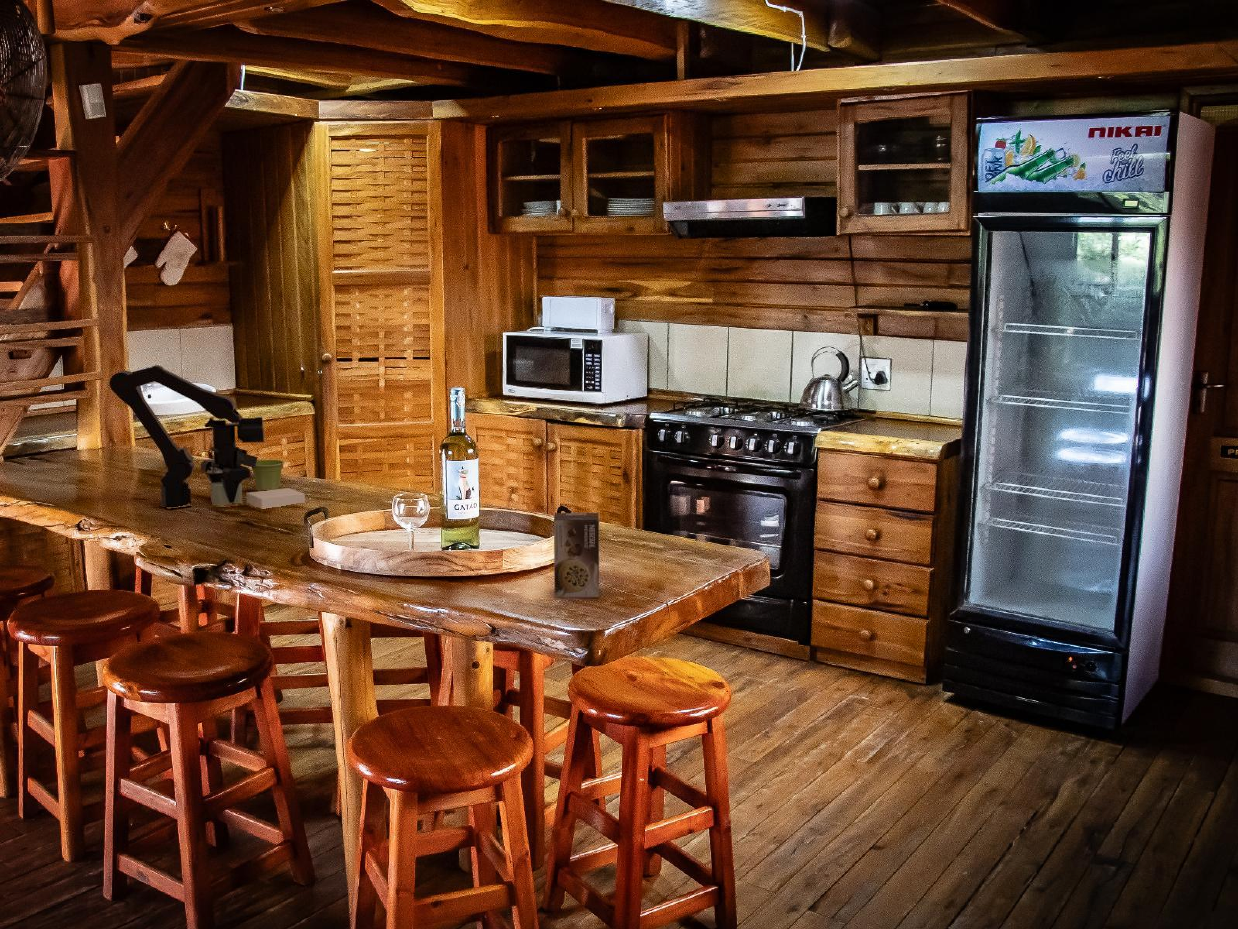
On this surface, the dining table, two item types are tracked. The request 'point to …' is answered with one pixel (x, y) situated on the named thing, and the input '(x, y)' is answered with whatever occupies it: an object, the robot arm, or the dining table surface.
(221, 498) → the sage cube
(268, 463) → the plant pot
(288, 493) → the plinth
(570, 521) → the coffee box
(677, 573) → the dining table surface
